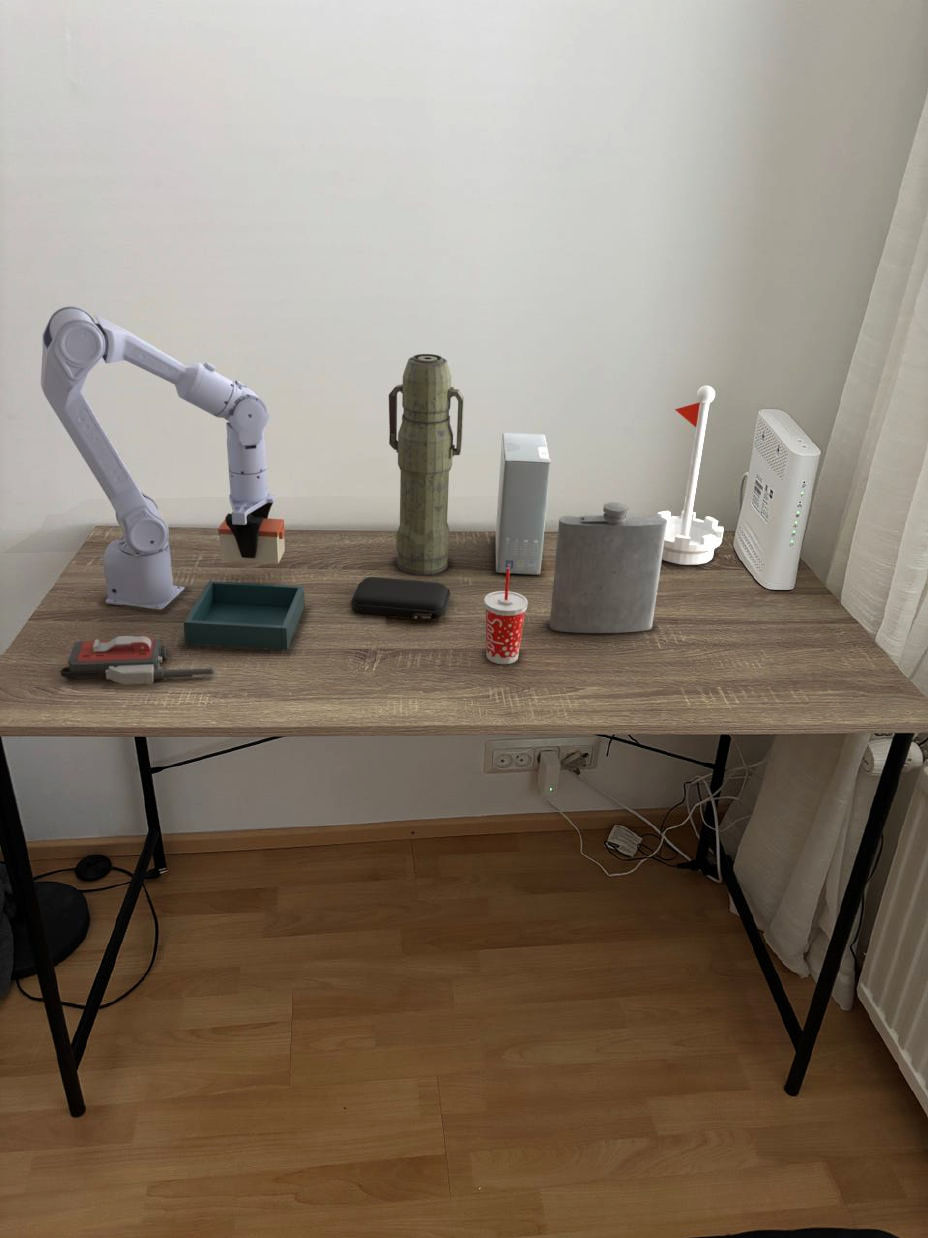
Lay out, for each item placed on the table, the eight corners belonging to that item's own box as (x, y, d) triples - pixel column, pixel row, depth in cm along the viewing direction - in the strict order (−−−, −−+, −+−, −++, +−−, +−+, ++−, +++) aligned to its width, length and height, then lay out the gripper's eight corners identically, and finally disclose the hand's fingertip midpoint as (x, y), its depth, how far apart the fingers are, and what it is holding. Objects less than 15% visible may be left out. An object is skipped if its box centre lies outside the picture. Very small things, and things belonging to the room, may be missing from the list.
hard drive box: (541, 576, 172) (551, 463, 162) (495, 574, 172) (502, 460, 162) (536, 539, 185) (545, 432, 176) (494, 537, 185) (500, 430, 176)
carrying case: (346, 620, 155) (443, 628, 154) (346, 602, 154) (443, 610, 152) (360, 589, 164) (451, 597, 163) (360, 572, 163) (452, 580, 162)
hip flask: (649, 620, 159) (666, 499, 150) (655, 633, 155) (673, 510, 146) (547, 621, 157) (558, 499, 148) (552, 634, 154) (564, 510, 144)
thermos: (391, 550, 178) (392, 348, 162) (458, 555, 178) (467, 352, 161) (383, 572, 170) (385, 362, 154) (454, 577, 170) (463, 366, 154)
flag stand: (731, 551, 184) (760, 386, 170) (698, 574, 175) (726, 401, 161) (666, 531, 191) (689, 371, 177) (631, 552, 182) (653, 385, 168)
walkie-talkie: (58, 691, 134) (214, 684, 137) (53, 662, 132) (212, 656, 135) (70, 658, 142) (218, 652, 145) (65, 630, 140) (215, 624, 143)
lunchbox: (217, 560, 161) (215, 528, 158) (226, 547, 166) (223, 515, 163) (281, 564, 161) (280, 532, 158) (288, 550, 165) (286, 519, 163)
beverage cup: (474, 649, 149) (478, 562, 142) (512, 642, 151) (518, 556, 144) (491, 670, 144) (497, 580, 137) (530, 662, 146) (538, 574, 140)
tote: (185, 647, 146) (183, 622, 144) (210, 603, 158) (208, 580, 156) (287, 653, 146) (286, 628, 144) (305, 609, 158) (304, 585, 156)
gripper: (263, 486, 150) (268, 570, 156) (283, 454, 163) (286, 533, 169) (215, 483, 150) (222, 567, 156) (239, 451, 163) (244, 530, 169)
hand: (252, 549), depth 163 cm, fingers closed on lunchbox, 5 cm apart
